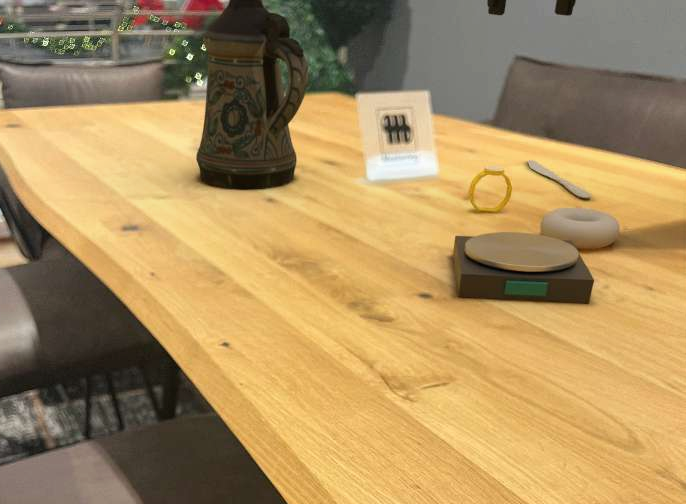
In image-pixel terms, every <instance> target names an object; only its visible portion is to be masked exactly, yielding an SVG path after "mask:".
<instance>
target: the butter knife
mask: <svg viewBox="0 0 686 504" xmlns="http://www.w3.org/2000/svg"><path fill="white" fill-rule="evenodd" d="M527 164H528V166H529V168H530V169H531V170H533V171H535V172H537V173H538V174H541V175H544V176H546V177H549V178H551V179H552V180H555V181H556V182H558V183H560V184H561V185H563V186H564V187H565V188H566V189H567V190H568V191H570V192H571V193H572V194H573V195H575V196H577V197H579V198H583V199H590V198H592V197H593V194H592V193H590V192H589V191H587V190H586V189H584V188H581V186H578V185H576V184H574V183H572V182H570V181H568V180H566V179H564V178H563V177H560V176H559V175H558V174H556V173H555V172H553V171H551V170H550V169H548V168H546V167H545V166H543V165H541V164H540V163H539V162H537V161H536V160H535V159H529V160H527Z"/></svg>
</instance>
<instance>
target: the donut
mask: <svg viewBox="0 0 686 504" xmlns="http://www.w3.org/2000/svg"><path fill="white" fill-rule="evenodd" d="M539 226H540V227H539V229H540V233H541V235H543V236H548V237H552V238H555V239H559V240H570V241H572V242H573V244H574V245H575V247H576V249H577V250H595V249H596V250H597V249H602V248H604V247H607V246H610V245H611V244H613V243H614V242H615V240H616V239H617V238H618V236H619V235H620V229H621V228H620V224H619V221H618V220H617V219H616V217H614V216H613V215H611V214H609V213H607V212H606V211H605V212H604V211H601V210H597V209H593V208H586V207H562V208H557V209H554V210H551V211H549V212H548V213H546V214H545V215H544V216H543V217H542V219H541V221H540V225H539Z"/></svg>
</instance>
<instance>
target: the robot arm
mask: <svg viewBox="0 0 686 504" xmlns="http://www.w3.org/2000/svg"><path fill="white" fill-rule="evenodd" d="M555 1H556V2H555V7H554V13H555V15H559V16H565V17H566V16H569V17H570V16H572V14H573V11H574V8H575V5H576V1H577V0H555ZM486 5H487V9H488V11H487V13H488V15H492V16H493V15H494V16H503V15H505V13H506V6H507V0H487V3H486Z"/></svg>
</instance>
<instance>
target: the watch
mask: <svg viewBox="0 0 686 504" xmlns="http://www.w3.org/2000/svg"><path fill="white" fill-rule="evenodd" d="M488 175H489V176H497V177H498V176H502V177H503V178H504V180H505V183H506V192H505V196H504V198H503V199H502V200H501V202H500V203H499V204H497V205H496V206H494V207H485V206H478V205H477V204H476V202H475V198H474V192H475V187H476V185H477V184H478V183H479V182H480V180H481V179H482V178H484V177H486V176H488ZM512 191H513V186H512V182H511V179H510V177H509V176H508V175H507V174H505V169H504V168H503V167H500V166H493V165H492V166H491V165H490V166H489V165H488V166H485V167H484V170H482V171H481V172H480V171H479V172H478V173H477V174H476V175H475V176H474V178H473V179H472V180H471V182H470V185H469V190H468V194H467V195H468V199H469V202H470V204H471V205H472V206H473V207H474V209H475V210H476V211H477V212H488V213H498V212H500V211H502V210H503V209H504V208H505V207H506V206H507V205H508V203H509V201H510V200H511V197H512Z"/></svg>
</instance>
